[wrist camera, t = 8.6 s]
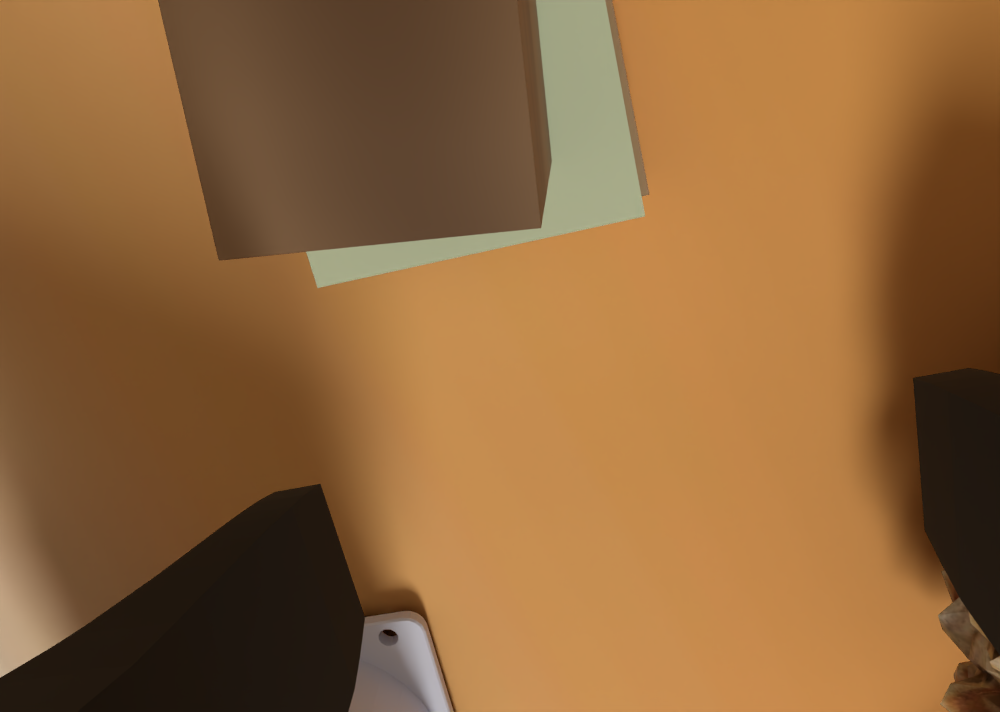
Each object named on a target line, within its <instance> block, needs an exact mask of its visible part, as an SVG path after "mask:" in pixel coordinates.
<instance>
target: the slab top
mask: <svg viewBox="0 0 1000 712" xmlns="http://www.w3.org/2000/svg"><path fill="white" fill-rule="evenodd" d="M536 6H537V16H538V26H539V36H540V46H541V56H542V66H543V77H544V87H545V97H546V107H547V117H548V127H549V137H550V147H551V157H552V164H551V170H550V176H549V182H548V188H547V195H546V201H545V207H544V213H543V219H542V226H541V228H538V229H528V230H518V231H508V232H498V233H488V234H478V235H468V236H458V237H448V238H439V239H429V240H419V241H409V242H399V243H389V244H379V245H369V246H359V247H349V248H339V249H329V250H319V251H309V252H306V253H307V256H308V259H309V262H310V266H311V269H312V272H313V275H314V278H315V281H316V284H317V288H320V287H324V286H329V285H334V284H338V283H343V282H347V281H352V280H356V279H361V278H365V277H370V276H375V275H379V274H384V273H388V272H393V271H397V270H402V269H407V268H411V267H416V266H420V265H425V264H429V263H434V262H438V261H443V260H448V259H452V258H457V257H461V256H466V255H470V254H475V253H480V252H484V251H489V250H493V249H498V248H502V247H507V246H511V245H516V244H521V243H525V242H530V241H534V240H539V239H543V238H548V237H552V236H557V235H562V234H566V233H571V232H575V231H580V230H584V229H589V228H594V227H598V226H603V225H607V224H612V223H616V222H621V221H625V220H630V219H635V218H639V217H644V216H645V213H644V207H643V202H642V197H641V191H640V186H639V180H638V175H637V170H636V164H635V159H634V153H633V148H632V142H631V137H630V132H629V126H628V121H627V115H626V110H625V105H624V99H623V94H622V88H621V83H620V77H619V72H618V67H617V61H616V56H615V50H614V45H613V40H612V34H611V29H610V23H609V18H608V12H607V7H606V2H605V0H536Z"/></svg>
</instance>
